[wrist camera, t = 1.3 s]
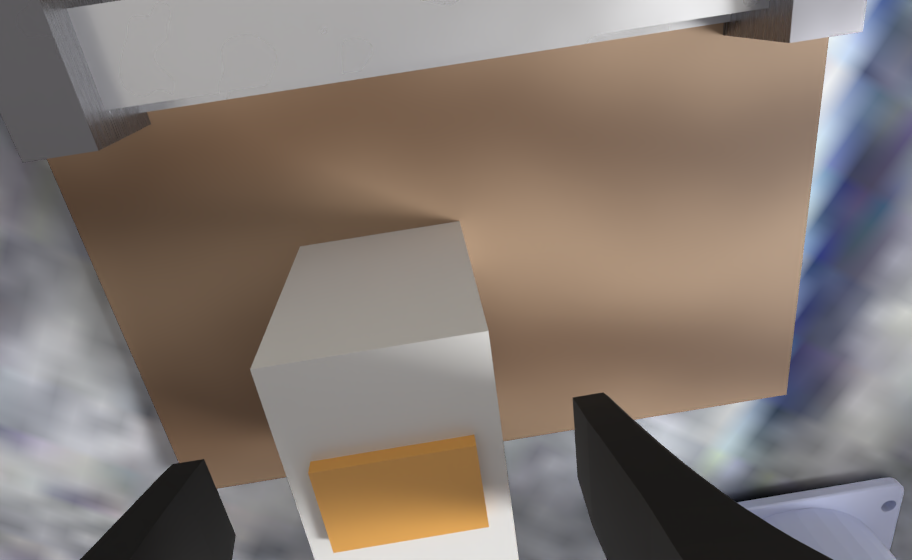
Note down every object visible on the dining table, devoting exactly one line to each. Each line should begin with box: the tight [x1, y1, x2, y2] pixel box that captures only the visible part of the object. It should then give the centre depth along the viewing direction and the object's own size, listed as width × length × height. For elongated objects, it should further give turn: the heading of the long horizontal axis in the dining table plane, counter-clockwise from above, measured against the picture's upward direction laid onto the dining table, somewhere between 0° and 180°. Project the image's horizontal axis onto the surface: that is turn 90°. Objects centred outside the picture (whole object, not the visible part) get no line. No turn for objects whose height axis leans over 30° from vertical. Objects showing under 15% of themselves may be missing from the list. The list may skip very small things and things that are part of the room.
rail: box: [0, 0, 867, 162], centre depth 12 cm, size 3×16×3 cm, turn 98°
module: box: [250, 221, 519, 560], centre depth 14 cm, size 6×4×6 cm, turn 8°
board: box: [47, 23, 829, 489], centre depth 15 cm, size 18×18×1 cm
